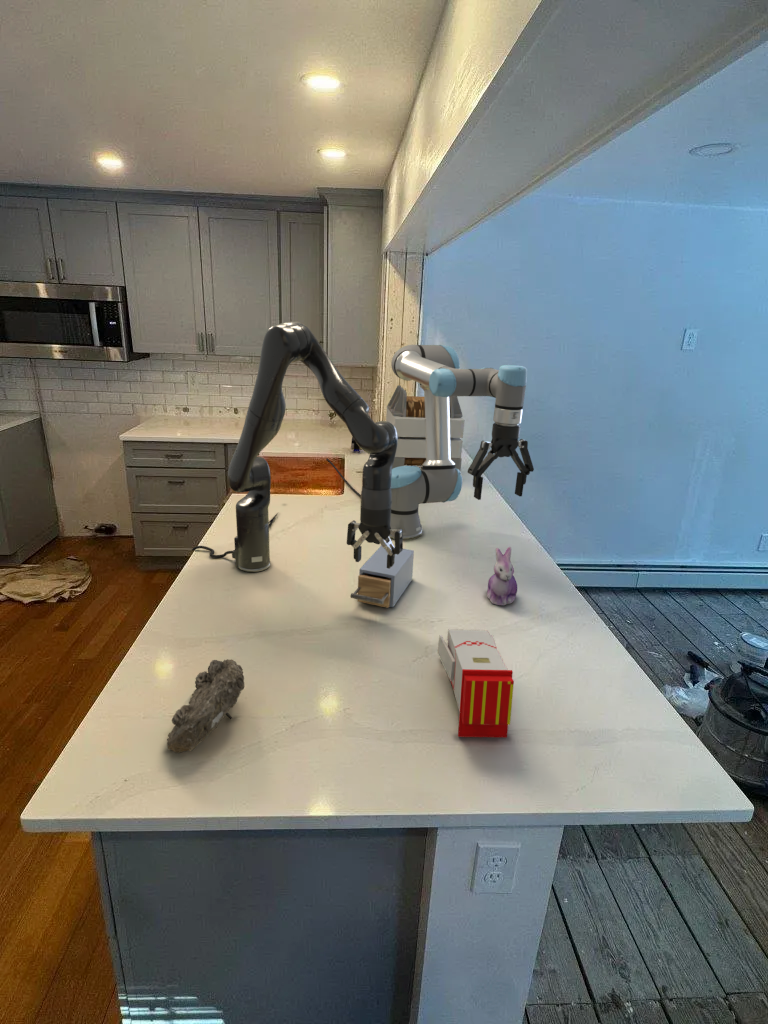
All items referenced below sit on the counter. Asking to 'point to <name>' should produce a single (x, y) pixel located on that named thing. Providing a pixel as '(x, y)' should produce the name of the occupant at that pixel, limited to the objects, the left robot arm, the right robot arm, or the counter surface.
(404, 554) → the cabinet
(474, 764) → the counter surface
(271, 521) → the feather
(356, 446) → the figurine character
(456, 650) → the toy
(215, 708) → the fossil
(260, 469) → the left robot arm
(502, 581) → the figurine
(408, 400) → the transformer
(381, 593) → the drawer
